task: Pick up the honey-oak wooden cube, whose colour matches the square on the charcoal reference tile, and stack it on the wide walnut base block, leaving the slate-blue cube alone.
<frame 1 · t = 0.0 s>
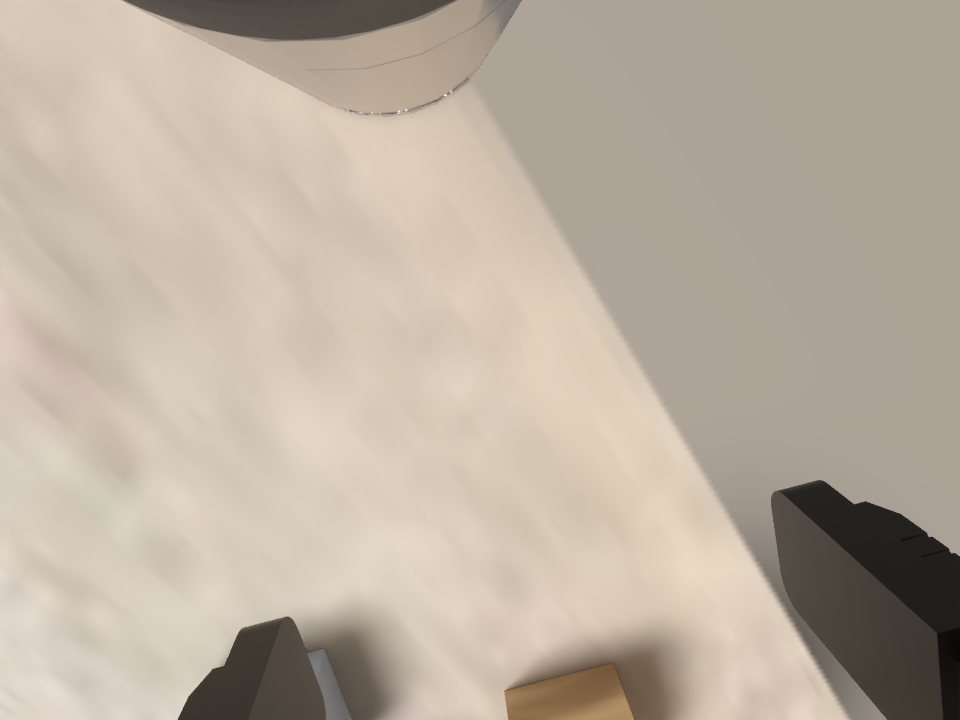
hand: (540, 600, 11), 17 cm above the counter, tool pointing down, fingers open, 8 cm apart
oak block: (569, 718, 34), on the counter
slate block: (286, 706, 32), on the counter
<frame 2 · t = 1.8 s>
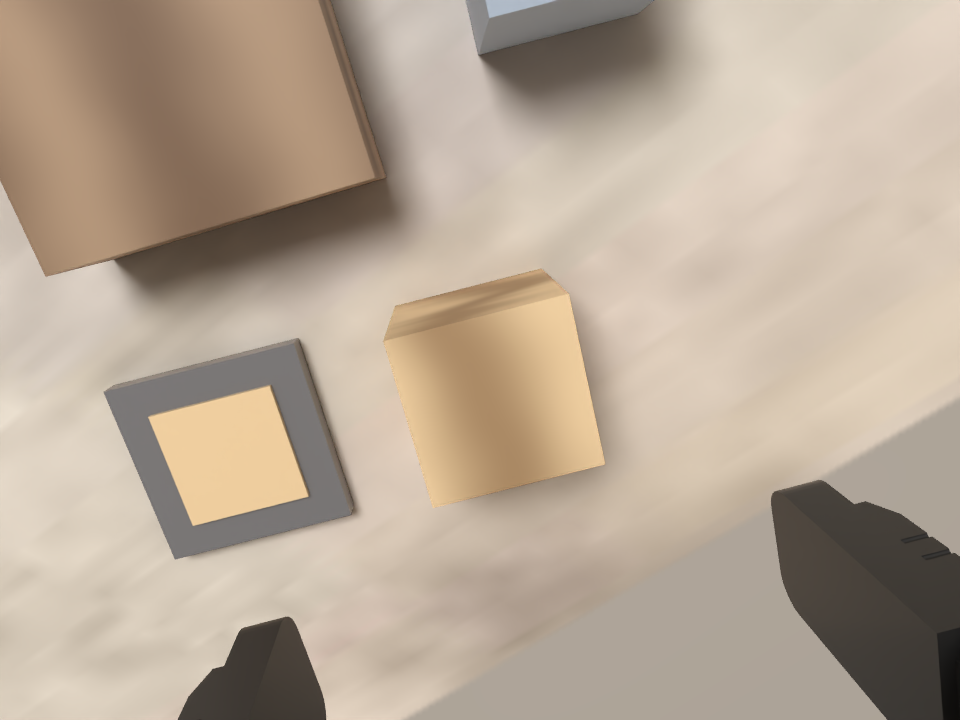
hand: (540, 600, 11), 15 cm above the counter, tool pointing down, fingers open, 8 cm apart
base block: (196, 71, 22), on the counter
oak block: (485, 357, 25), on the counter
reference tile: (238, 447, 26), on the counter
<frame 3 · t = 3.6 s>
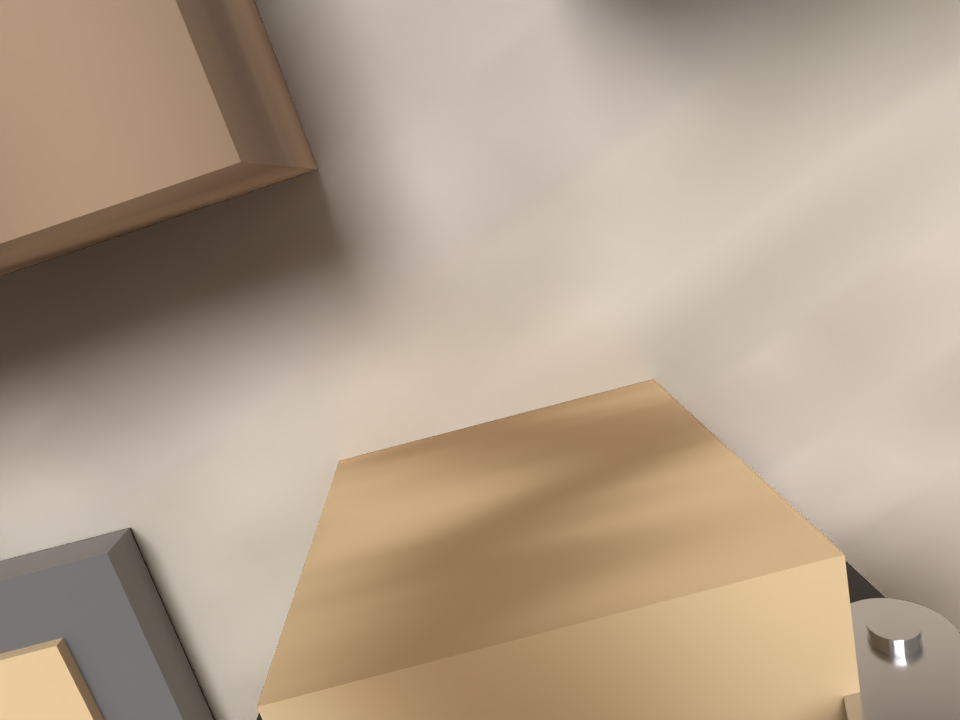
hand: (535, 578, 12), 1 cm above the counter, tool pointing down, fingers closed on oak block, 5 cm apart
oak block: (532, 558, 12), on the counter, touching gripper
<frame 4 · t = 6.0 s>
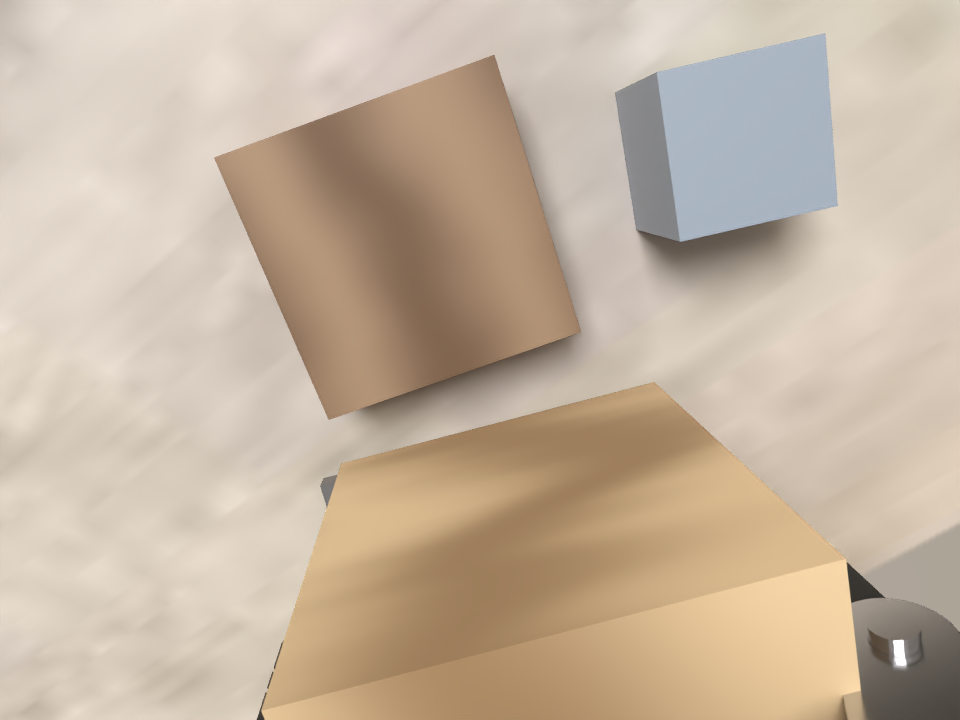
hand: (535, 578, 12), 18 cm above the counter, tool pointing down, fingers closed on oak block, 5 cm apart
base block: (412, 238, 28), on the counter
oak block: (533, 560, 12), point 17 cm above the counter, touching gripper
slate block: (691, 147, 27), on the counter
when the fingers open (6 cm above the counter, at t = 8.6 s): oak block drops 2 cm, point 4 cm above the counter.
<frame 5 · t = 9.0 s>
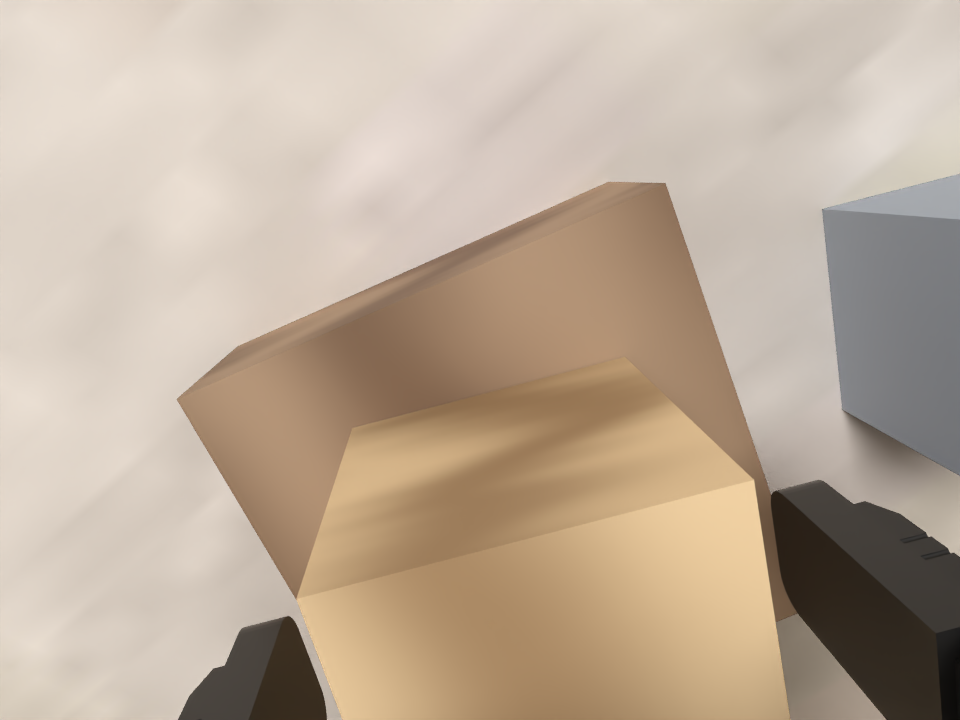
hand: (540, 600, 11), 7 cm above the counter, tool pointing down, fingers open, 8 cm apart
base block: (497, 432, 18), on the counter
oak block: (520, 514, 14), point 4 cm above the counter
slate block: (932, 287, 18), on the counter
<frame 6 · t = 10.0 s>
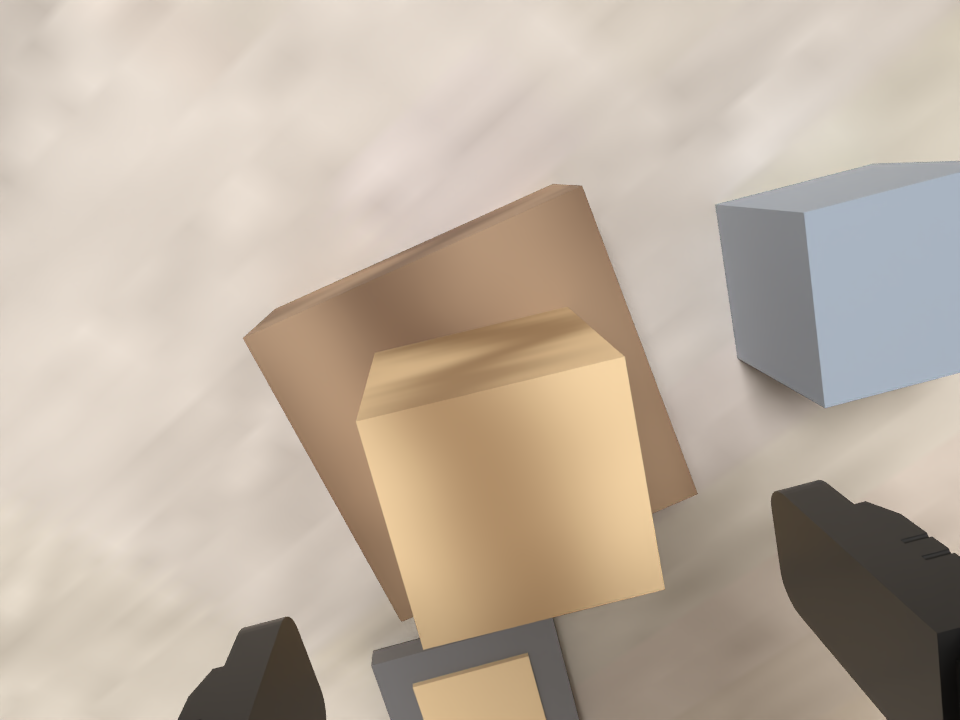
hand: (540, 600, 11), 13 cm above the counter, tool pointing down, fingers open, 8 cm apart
base block: (473, 376, 24), on the counter
oak block: (492, 420, 19), point 4 cm above the counter
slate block: (802, 263, 23), on the counter
reference tile: (482, 699, 27), on the counter
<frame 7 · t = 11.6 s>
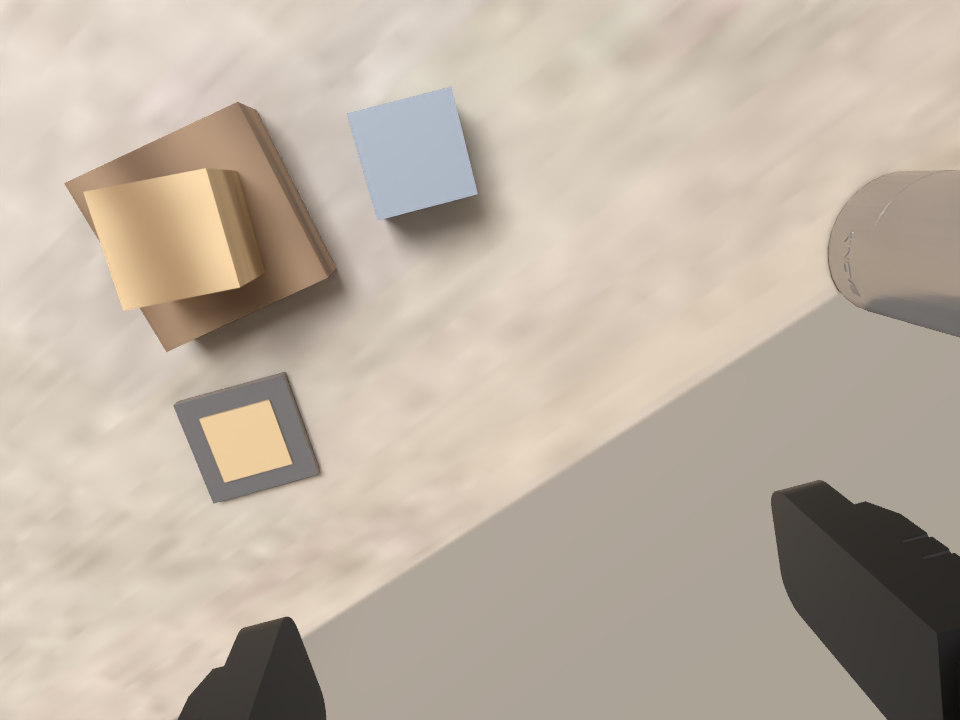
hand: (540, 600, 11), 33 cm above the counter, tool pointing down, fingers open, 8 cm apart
base block: (223, 226, 40), on the counter
oak block: (200, 232, 36), point 4 cm above the counter
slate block: (413, 158, 40), on the counter
reference tile: (250, 436, 43), on the counter
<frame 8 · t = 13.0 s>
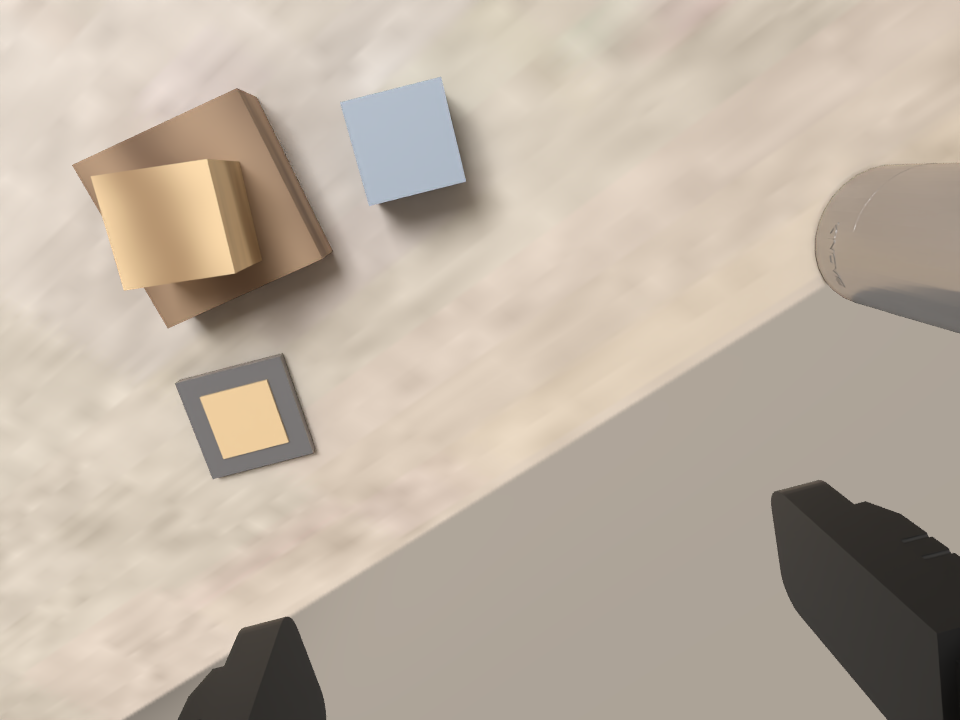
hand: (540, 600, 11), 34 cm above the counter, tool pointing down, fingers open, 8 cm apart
base block: (224, 209, 42), on the counter, touching oak block
oak block: (202, 219, 38), point 4 cm above the counter, touching base block
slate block: (408, 147, 41), on the counter
reference tile: (248, 415, 45), on the counter
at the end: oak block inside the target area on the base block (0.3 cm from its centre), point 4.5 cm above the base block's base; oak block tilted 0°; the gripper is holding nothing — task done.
